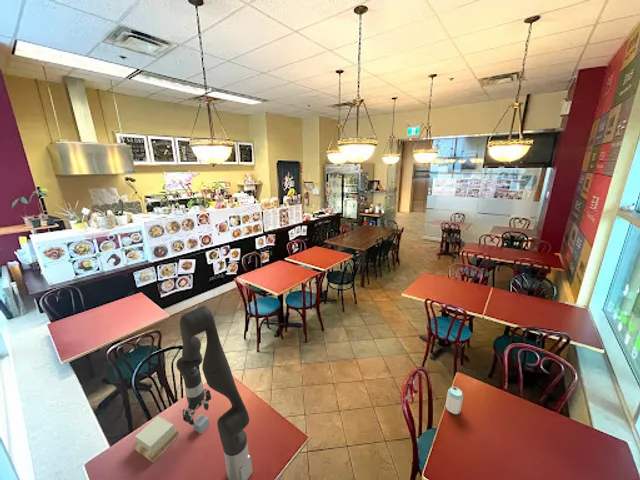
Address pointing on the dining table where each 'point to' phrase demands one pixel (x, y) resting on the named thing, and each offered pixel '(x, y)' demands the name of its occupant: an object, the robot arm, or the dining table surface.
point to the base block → (159, 450)
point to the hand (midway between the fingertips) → (199, 416)
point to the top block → (155, 434)
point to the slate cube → (201, 423)
